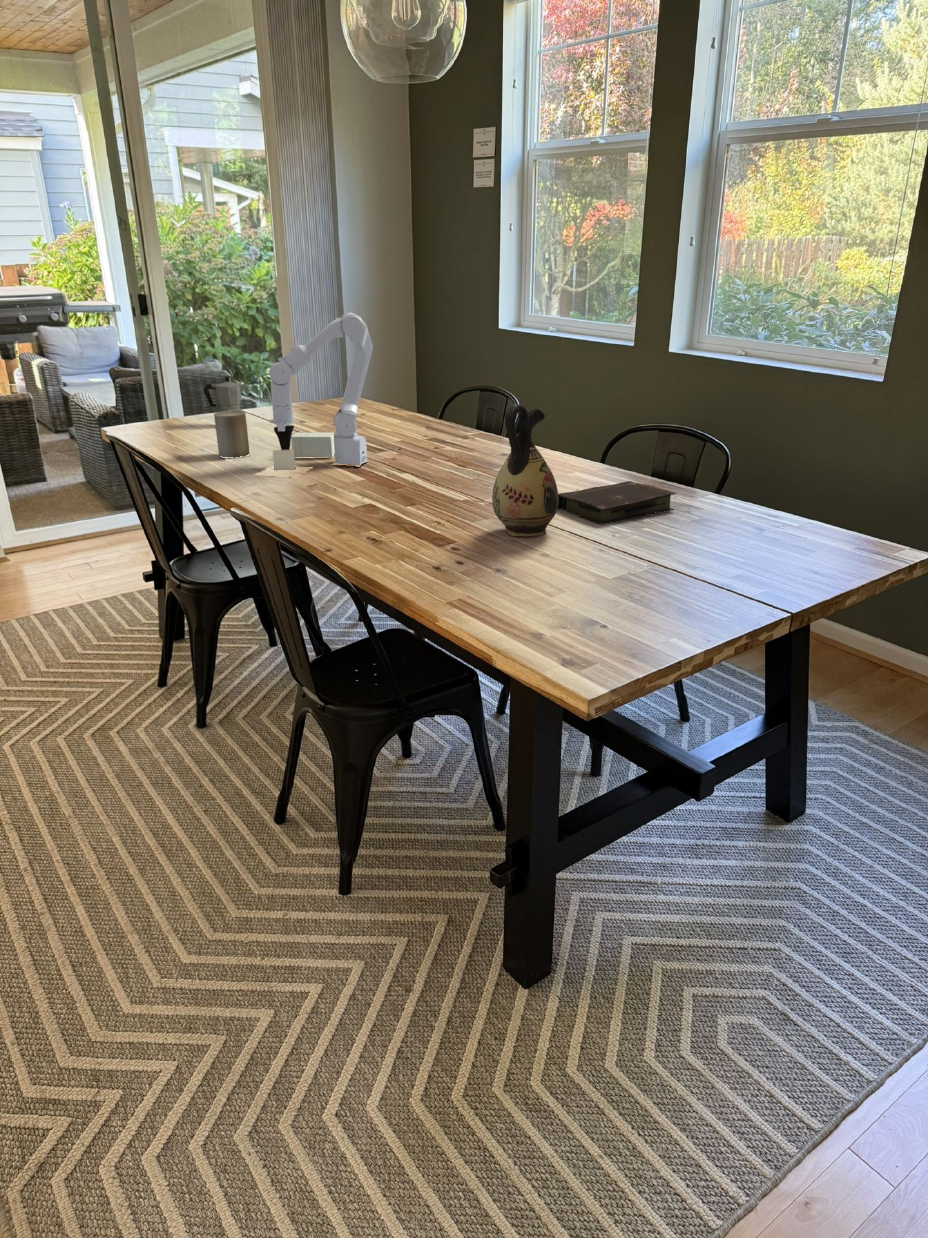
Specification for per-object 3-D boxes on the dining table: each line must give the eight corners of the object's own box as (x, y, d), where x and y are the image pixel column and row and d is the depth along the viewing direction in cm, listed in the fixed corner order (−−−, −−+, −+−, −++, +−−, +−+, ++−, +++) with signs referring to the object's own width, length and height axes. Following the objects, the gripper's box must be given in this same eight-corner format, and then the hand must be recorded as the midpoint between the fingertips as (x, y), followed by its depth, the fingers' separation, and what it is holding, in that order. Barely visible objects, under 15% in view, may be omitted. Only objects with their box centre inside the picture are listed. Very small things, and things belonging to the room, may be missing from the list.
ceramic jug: (517, 518, 219) (520, 395, 207) (569, 530, 210) (576, 402, 198) (473, 534, 207) (474, 404, 195) (527, 548, 198) (532, 412, 186)
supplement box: (292, 459, 277) (332, 459, 277) (290, 436, 274) (330, 436, 274) (297, 455, 284) (336, 455, 284) (295, 431, 281) (335, 431, 281)
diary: (554, 511, 228) (555, 491, 226) (627, 497, 240) (628, 478, 238) (602, 527, 213) (603, 507, 211) (677, 512, 226) (678, 492, 224)
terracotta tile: (275, 469, 263) (273, 449, 261) (295, 469, 264) (294, 449, 261) (274, 471, 262) (272, 451, 259) (295, 470, 262) (293, 450, 260)
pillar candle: (254, 453, 286) (249, 406, 280) (244, 459, 277) (239, 411, 271) (225, 452, 287) (219, 405, 281) (214, 459, 278) (208, 411, 272)
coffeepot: (250, 423, 333) (245, 374, 326) (250, 428, 325) (245, 377, 318) (208, 425, 330) (202, 375, 323) (207, 429, 322) (201, 378, 315)
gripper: (271, 401, 267) (275, 445, 272) (265, 409, 254) (269, 456, 259) (294, 400, 268) (298, 445, 273) (290, 409, 254) (293, 455, 260)
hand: (285, 450), depth 266 cm, fingers closed
